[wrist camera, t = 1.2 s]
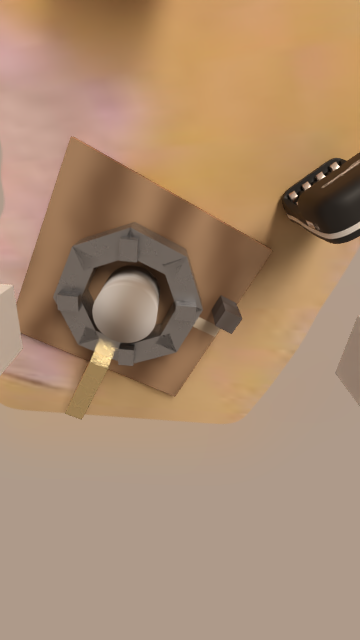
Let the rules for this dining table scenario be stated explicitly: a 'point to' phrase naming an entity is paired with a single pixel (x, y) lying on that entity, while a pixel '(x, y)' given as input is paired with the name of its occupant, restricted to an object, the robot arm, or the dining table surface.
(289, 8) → the dining table surface
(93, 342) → the ring nut
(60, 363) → the dining table surface
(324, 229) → the battery charger
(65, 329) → the mount plate
